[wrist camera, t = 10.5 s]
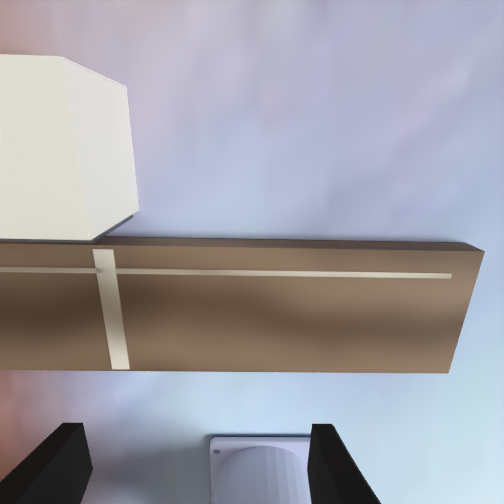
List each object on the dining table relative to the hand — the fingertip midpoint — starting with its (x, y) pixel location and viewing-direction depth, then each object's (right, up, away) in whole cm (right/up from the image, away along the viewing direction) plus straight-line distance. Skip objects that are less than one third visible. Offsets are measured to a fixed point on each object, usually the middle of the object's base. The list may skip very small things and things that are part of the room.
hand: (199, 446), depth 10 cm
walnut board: (-1, +3, +9) cm, 9 cm away
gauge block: (-7, +11, +6) cm, 15 cm away
